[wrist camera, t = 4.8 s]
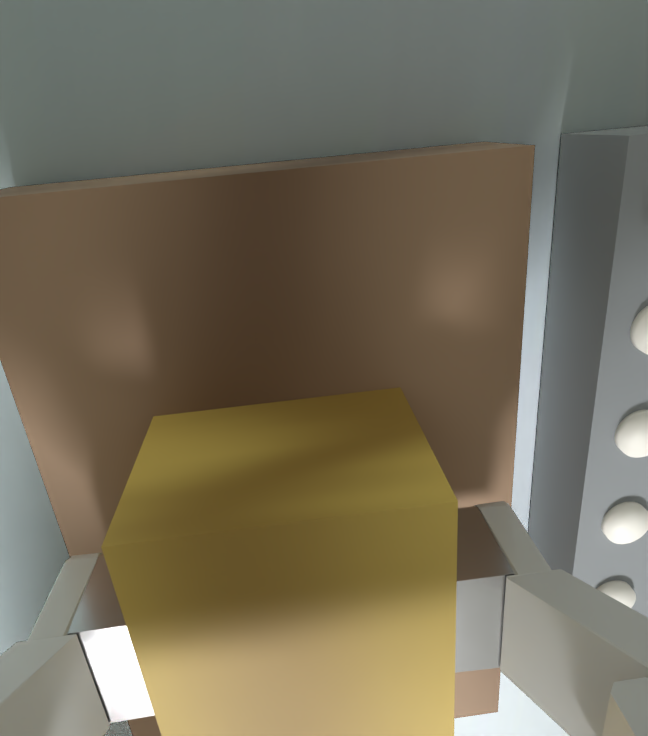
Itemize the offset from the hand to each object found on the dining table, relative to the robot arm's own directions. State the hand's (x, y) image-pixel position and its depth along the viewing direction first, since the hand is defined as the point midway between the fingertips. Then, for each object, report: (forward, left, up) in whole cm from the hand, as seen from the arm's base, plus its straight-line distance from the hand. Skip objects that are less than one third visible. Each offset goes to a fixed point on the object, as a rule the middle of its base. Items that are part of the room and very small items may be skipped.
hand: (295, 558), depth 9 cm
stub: (0, 0, -3) cm, 3 cm away
